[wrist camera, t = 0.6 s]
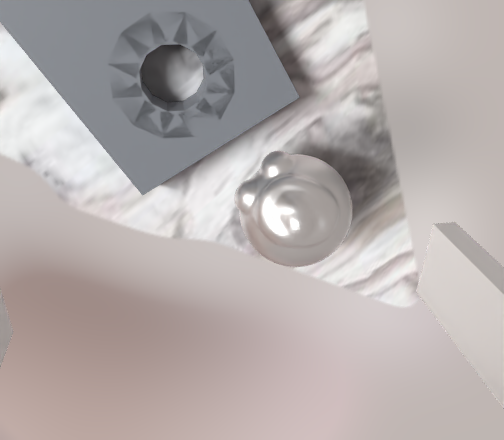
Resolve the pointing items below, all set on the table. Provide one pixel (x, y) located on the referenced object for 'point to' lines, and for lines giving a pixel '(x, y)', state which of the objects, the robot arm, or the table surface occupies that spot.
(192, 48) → the grey flat block
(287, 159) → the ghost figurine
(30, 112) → the table surface
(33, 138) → the table surface
